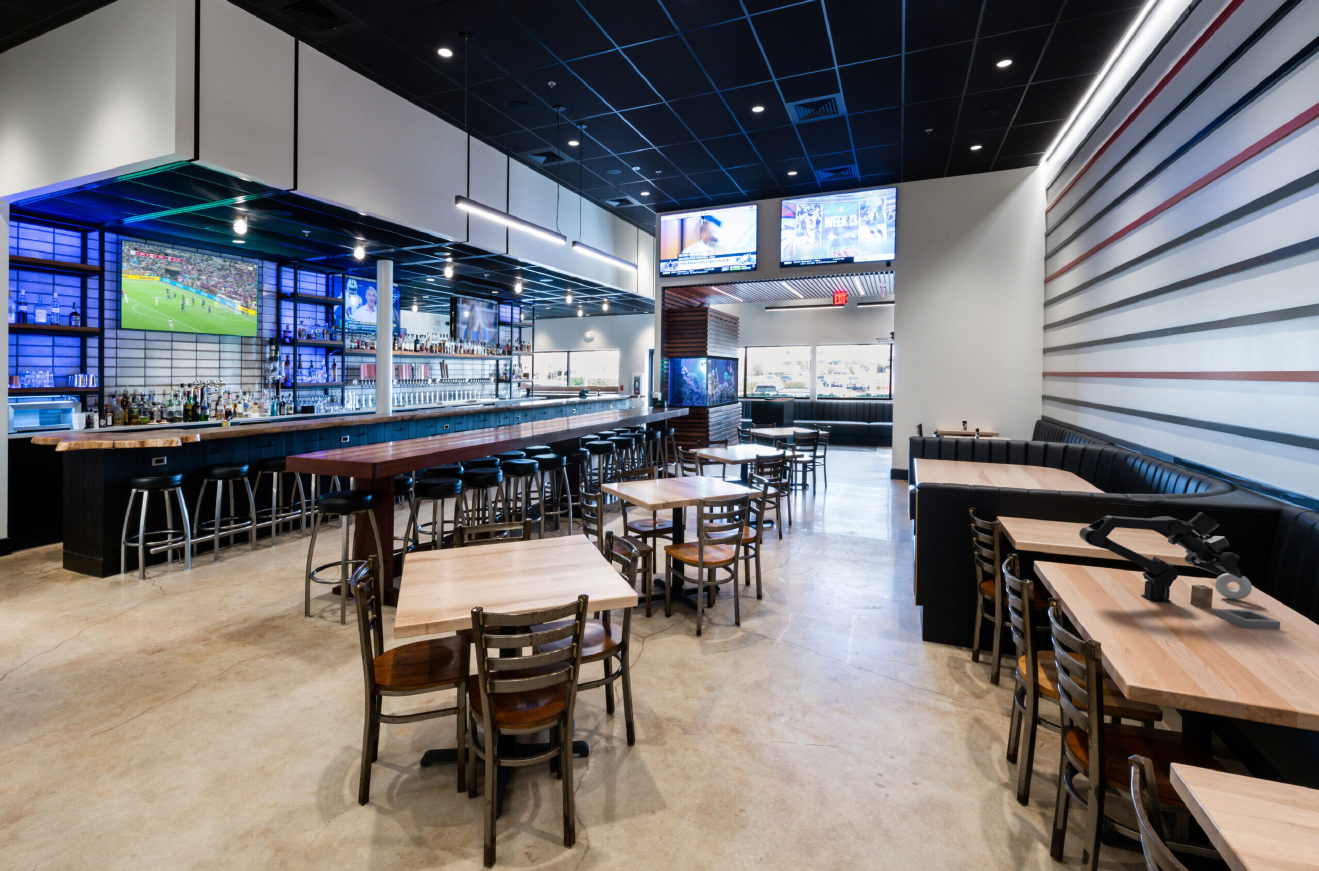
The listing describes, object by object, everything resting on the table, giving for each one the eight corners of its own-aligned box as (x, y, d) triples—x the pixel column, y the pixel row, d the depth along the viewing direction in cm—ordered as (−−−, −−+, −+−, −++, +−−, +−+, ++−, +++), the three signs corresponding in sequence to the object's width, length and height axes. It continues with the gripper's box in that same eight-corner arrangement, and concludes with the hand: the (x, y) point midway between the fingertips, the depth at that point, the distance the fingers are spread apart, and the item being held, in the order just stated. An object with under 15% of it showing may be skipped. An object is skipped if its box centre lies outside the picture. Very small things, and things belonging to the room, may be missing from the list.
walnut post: (1199, 607, 213) (1200, 588, 212) (1190, 603, 217) (1191, 585, 216) (1211, 608, 213) (1212, 589, 212) (1202, 604, 217) (1203, 585, 216)
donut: (1214, 598, 223) (1216, 571, 222) (1213, 595, 226) (1215, 569, 225) (1252, 603, 217) (1254, 576, 216) (1249, 600, 220) (1251, 574, 219)
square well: (1244, 628, 195) (1245, 621, 195) (1217, 616, 205) (1217, 609, 205) (1279, 629, 194) (1280, 622, 194) (1250, 616, 205) (1250, 609, 204)
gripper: (1229, 529, 207) (1269, 562, 205) (1190, 527, 226) (1226, 556, 223) (1207, 553, 208) (1246, 585, 205) (1169, 548, 226) (1205, 578, 223)
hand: (1231, 575), depth 214 cm, fingers open, 9 cm apart
